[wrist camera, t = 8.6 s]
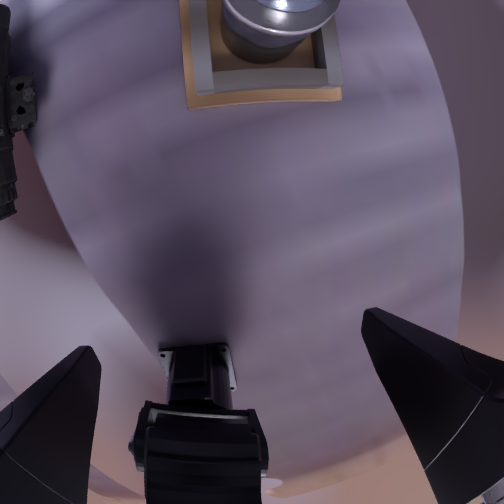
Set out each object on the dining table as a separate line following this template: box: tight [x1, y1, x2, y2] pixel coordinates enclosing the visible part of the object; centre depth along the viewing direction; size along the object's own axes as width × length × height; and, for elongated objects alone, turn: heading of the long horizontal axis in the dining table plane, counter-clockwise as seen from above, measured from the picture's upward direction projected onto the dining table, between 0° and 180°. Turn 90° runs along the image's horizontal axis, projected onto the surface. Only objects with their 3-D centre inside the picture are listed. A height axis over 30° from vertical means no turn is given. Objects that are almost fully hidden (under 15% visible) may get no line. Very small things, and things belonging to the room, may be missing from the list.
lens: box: [221, 0, 340, 64], centre depth 11 cm, size 5×5×7 cm
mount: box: [179, 0, 344, 110], centre depth 14 cm, size 10×10×4 cm
